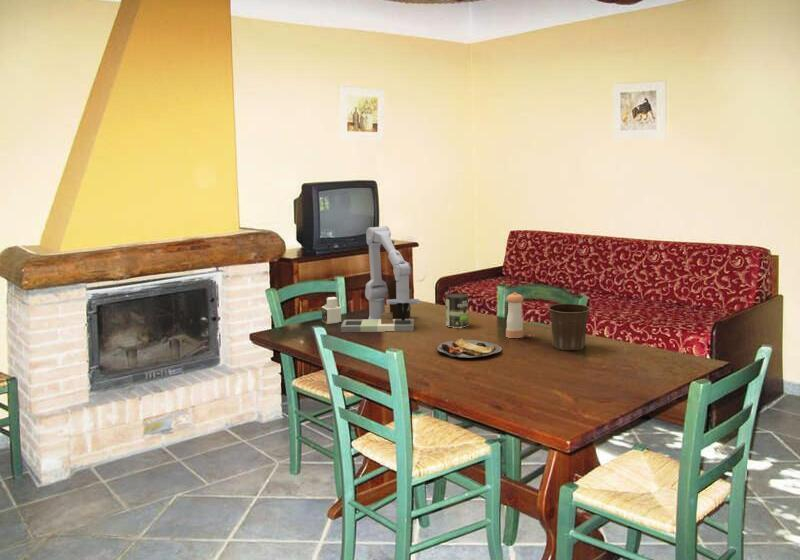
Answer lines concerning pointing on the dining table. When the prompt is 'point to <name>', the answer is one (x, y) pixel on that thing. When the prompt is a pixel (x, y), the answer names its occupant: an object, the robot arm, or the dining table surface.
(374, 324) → the trap lane
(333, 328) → the dining table surface
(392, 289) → the olive oil
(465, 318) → the coffee can
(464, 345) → the food plate
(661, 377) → the dining table surface
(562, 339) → the plant pot
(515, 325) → the pepper shaker
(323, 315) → the medicine bottle
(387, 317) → the walnut block
